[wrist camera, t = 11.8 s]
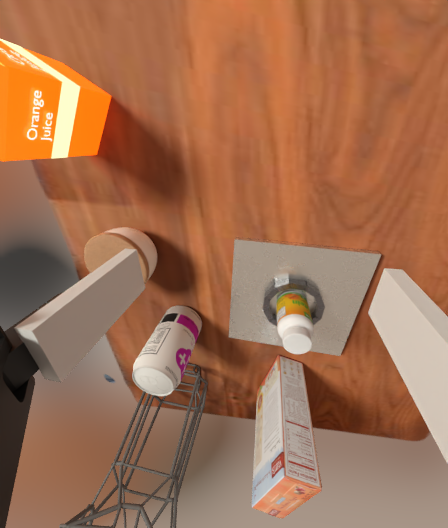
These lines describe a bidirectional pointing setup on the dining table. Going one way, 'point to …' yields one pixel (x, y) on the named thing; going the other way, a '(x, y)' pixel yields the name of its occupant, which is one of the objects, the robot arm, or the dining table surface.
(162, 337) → the supplement can
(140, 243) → the lidded jar
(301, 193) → the dining table surface
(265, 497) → the cracker box
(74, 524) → the geometric lantern
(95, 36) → the dining table surface
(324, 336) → the plate
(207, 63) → the dining table surface
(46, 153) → the orange juice
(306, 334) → the supplement bottle
